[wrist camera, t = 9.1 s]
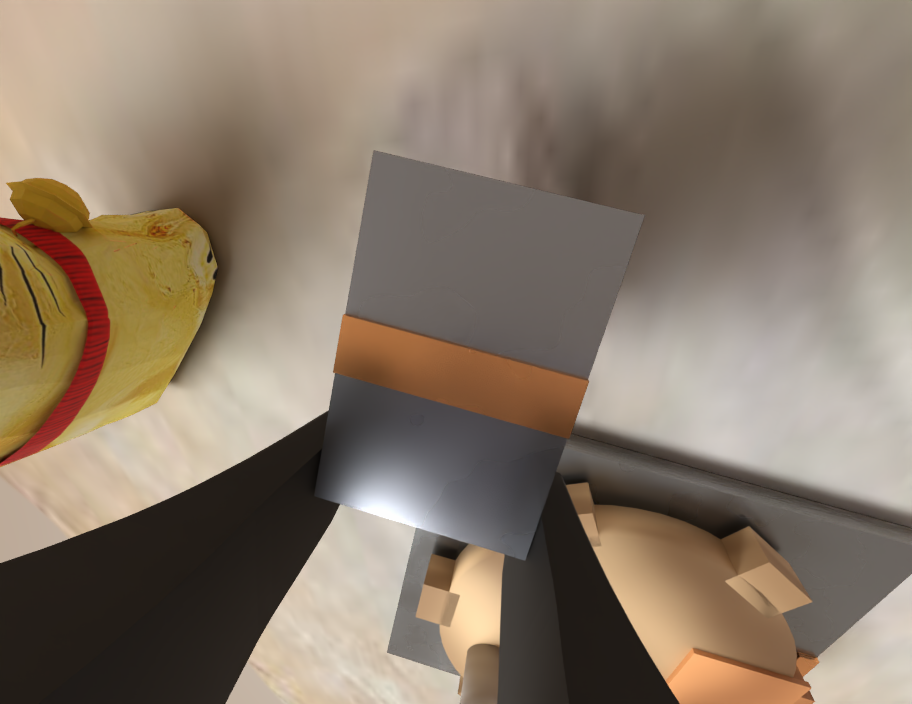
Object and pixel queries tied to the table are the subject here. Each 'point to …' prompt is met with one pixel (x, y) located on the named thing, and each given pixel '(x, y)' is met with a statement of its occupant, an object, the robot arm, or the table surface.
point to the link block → (466, 349)
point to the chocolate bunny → (91, 313)
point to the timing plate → (720, 513)
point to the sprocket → (647, 606)
